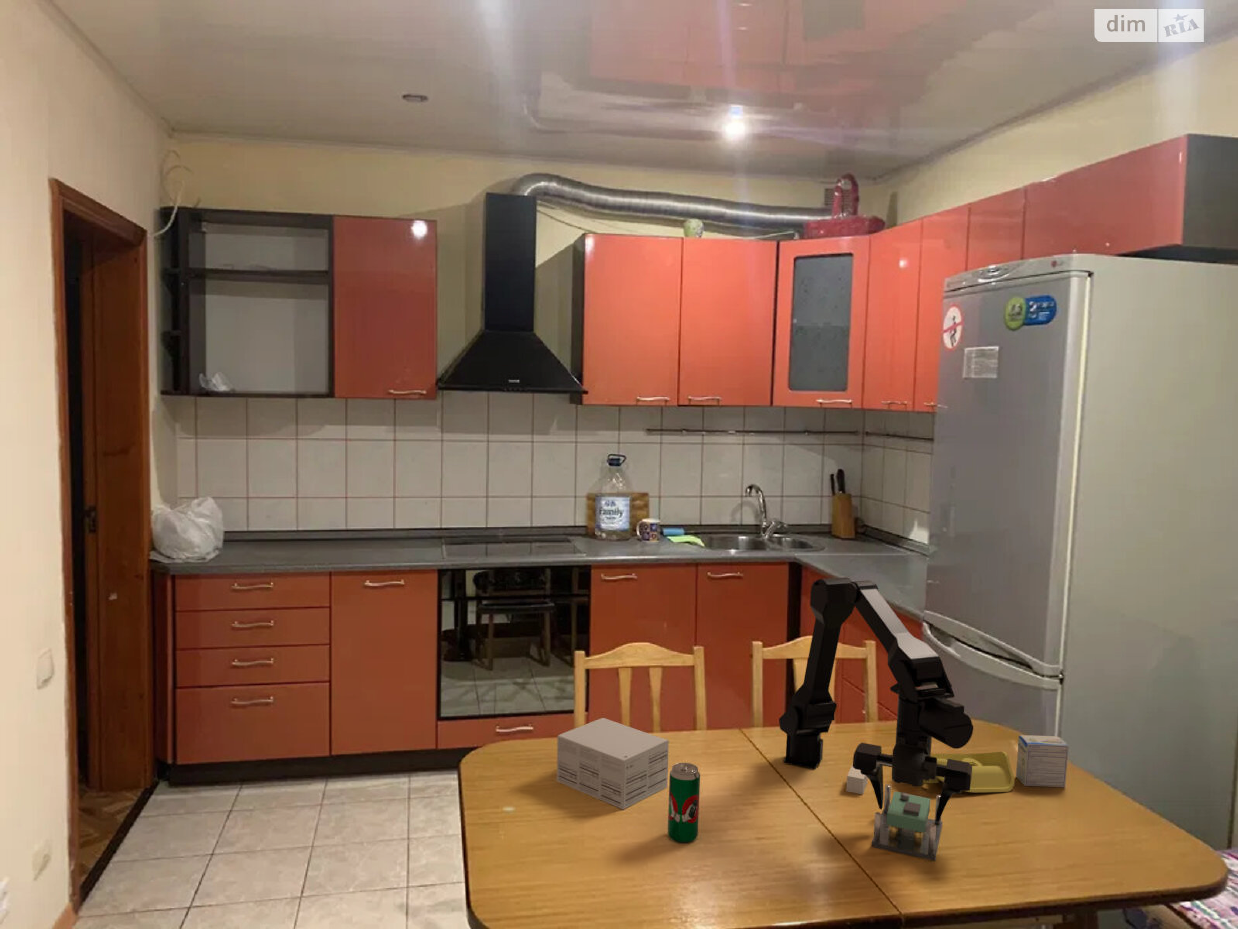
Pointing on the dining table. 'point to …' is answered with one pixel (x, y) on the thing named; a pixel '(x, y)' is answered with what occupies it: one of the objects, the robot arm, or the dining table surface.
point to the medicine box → (1042, 761)
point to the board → (908, 812)
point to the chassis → (906, 834)
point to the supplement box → (612, 762)
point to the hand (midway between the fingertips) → (908, 814)
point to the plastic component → (983, 771)
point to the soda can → (683, 802)
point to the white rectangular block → (856, 781)
